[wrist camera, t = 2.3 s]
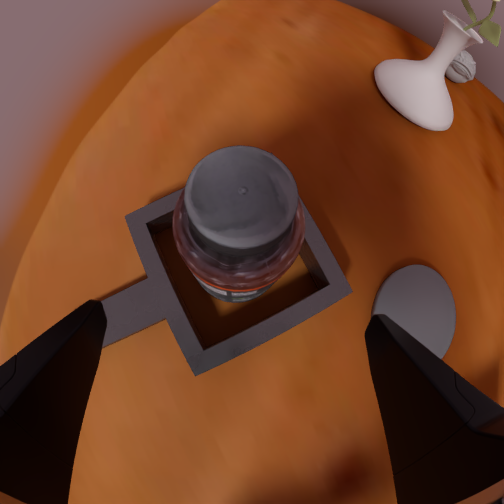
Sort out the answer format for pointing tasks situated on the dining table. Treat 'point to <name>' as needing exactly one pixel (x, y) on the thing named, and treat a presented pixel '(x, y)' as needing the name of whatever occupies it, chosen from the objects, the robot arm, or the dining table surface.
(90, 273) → the dining table surface
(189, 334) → the square pan with handle
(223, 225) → the supplement bottle
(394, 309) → the coaster
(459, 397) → the robot arm
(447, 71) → the lumpy white ball
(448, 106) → the flower in vase
